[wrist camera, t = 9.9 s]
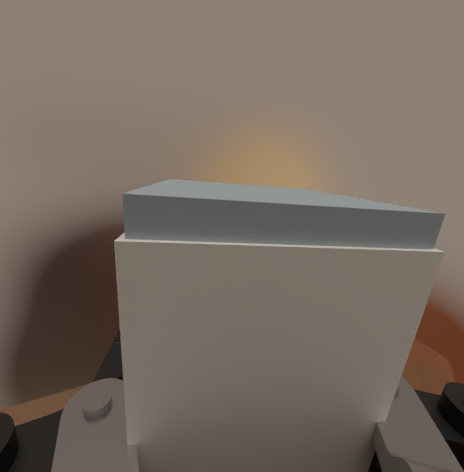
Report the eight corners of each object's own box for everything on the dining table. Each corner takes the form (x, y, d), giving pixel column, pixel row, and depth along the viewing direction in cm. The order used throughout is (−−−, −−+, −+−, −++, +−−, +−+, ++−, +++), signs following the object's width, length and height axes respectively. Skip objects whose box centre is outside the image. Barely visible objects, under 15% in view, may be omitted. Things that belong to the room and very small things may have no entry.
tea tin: (140, 654, 6) (110, 193, 3) (167, 439, 11) (167, 178, 8) (318, 614, 7) (457, 215, 3) (269, 430, 11) (309, 189, 8)
